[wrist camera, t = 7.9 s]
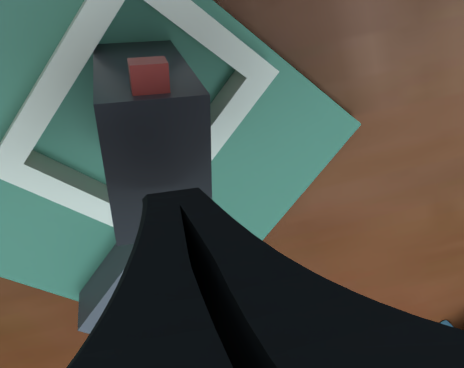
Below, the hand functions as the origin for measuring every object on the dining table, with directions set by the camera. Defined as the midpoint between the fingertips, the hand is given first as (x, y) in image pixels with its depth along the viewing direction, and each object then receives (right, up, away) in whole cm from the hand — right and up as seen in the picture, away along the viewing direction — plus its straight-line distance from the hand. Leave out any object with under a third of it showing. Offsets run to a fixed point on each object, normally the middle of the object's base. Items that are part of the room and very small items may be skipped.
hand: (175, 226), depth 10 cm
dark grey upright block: (-3, +5, +8) cm, 9 cm away
